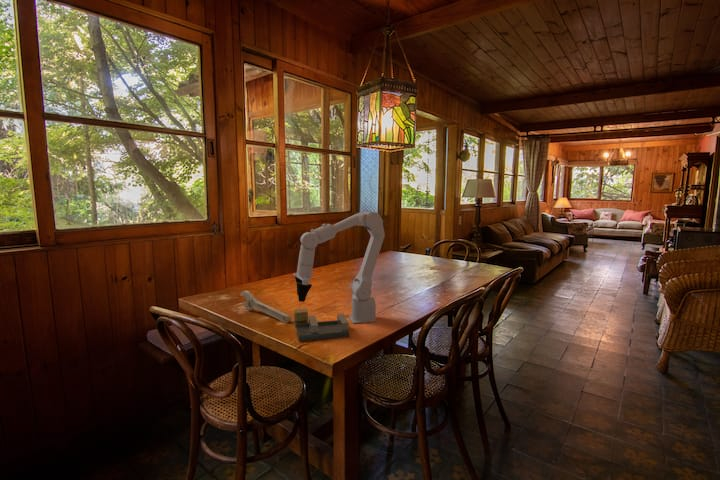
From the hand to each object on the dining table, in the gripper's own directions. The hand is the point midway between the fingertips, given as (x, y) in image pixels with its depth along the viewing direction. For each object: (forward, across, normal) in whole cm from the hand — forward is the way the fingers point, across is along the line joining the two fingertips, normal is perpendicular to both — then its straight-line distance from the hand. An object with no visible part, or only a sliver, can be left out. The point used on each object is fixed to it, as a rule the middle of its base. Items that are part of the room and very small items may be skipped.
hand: (300, 298), depth 142 cm
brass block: (+11, 0, +2) cm, 11 cm away
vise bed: (+10, +9, +8) cm, 16 cm away
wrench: (+13, -15, -12) cm, 23 cm away
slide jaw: (+9, +9, +5) cm, 14 cm away
